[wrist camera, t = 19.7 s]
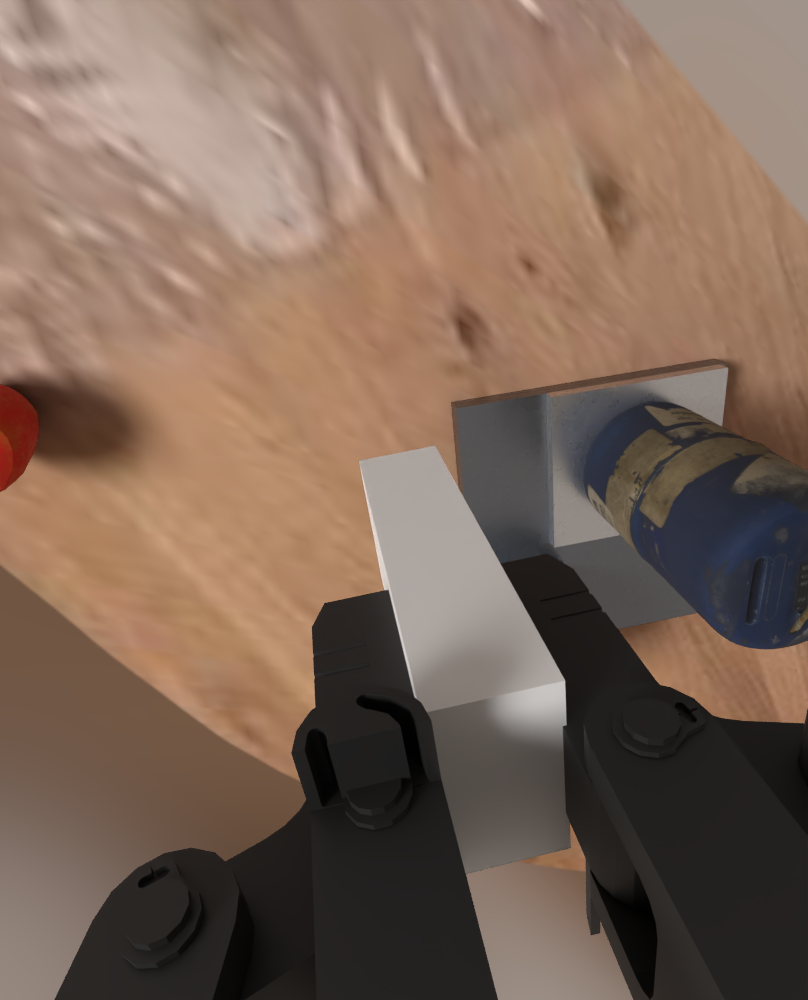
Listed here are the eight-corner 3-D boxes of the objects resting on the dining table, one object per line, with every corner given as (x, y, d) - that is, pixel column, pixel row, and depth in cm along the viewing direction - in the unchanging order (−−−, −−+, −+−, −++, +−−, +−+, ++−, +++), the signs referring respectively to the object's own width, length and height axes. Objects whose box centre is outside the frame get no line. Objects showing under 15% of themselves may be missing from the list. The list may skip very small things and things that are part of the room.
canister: (715, 401, 45) (948, 508, 29) (675, 519, 49) (863, 672, 33) (592, 390, 43) (770, 498, 27) (561, 514, 47) (701, 673, 31)
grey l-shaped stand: (451, 402, 45) (488, 448, 36) (713, 358, 47) (808, 392, 38) (472, 647, 54) (506, 728, 46) (690, 602, 56) (761, 673, 48)
